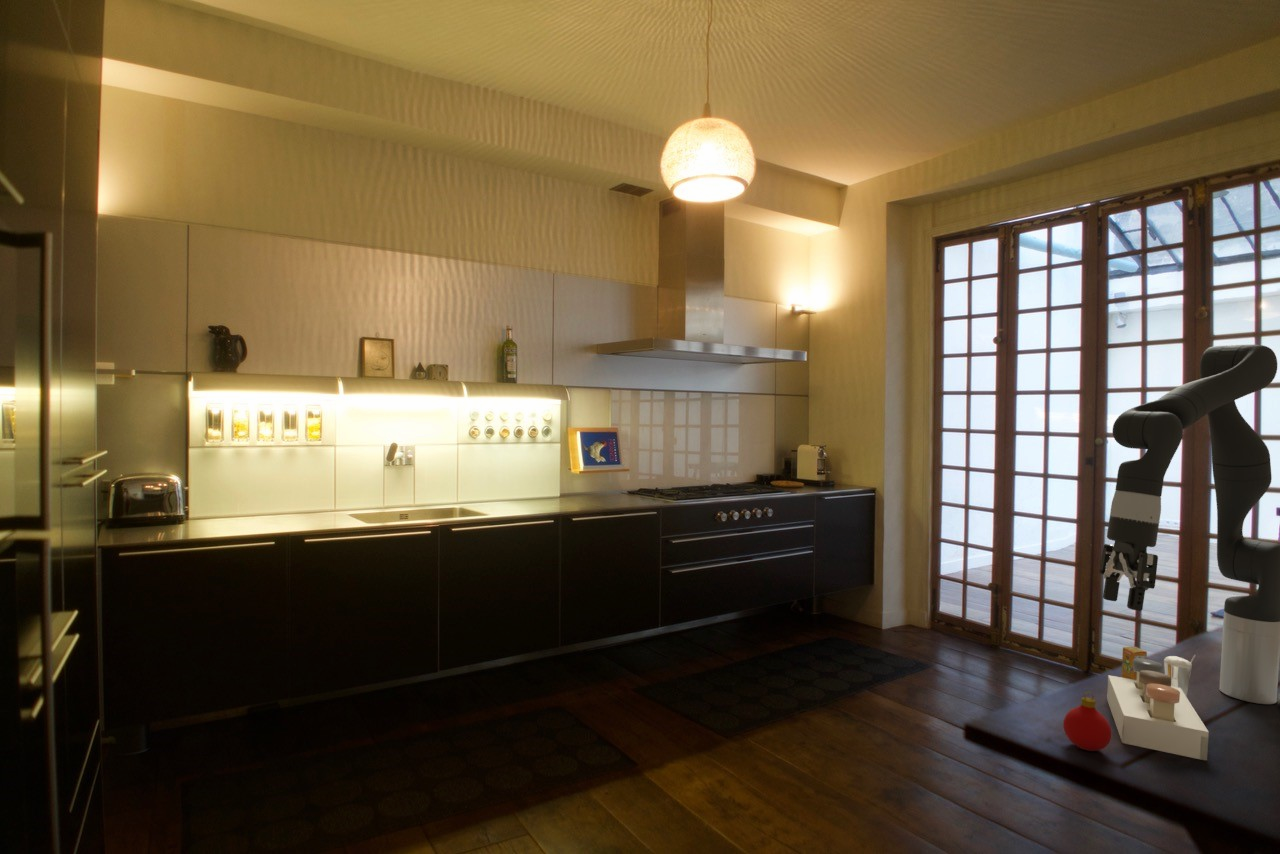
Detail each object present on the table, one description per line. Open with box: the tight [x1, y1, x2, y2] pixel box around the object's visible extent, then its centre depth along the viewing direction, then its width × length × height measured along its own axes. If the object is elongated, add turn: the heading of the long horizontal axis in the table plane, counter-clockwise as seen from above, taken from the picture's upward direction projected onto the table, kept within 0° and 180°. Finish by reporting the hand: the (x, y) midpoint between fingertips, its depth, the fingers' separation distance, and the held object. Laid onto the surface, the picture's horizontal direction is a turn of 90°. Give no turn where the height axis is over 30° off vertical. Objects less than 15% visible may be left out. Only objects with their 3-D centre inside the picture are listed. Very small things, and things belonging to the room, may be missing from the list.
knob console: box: [1106, 674, 1210, 762], centre depth 132 cm, size 22×12×5 cm, turn 152°
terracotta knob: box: [1146, 684, 1180, 722], centre depth 125 cm, size 5×5×6 cm
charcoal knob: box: [1133, 658, 1164, 690], centre depth 138 cm, size 5×5×6 cm
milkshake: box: [1163, 654, 1196, 697], centre depth 145 cm, size 4×5×10 cm
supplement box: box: [1121, 646, 1148, 680], centre depth 147 cm, size 3×3×10 cm
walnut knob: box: [1139, 670, 1171, 703], centre depth 132 cm, size 5×5×6 cm
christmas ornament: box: [1063, 691, 1112, 752], centre depth 122 cm, size 7×7×10 cm
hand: (1121, 604), depth 129 cm, fingers open, 8 cm apart
